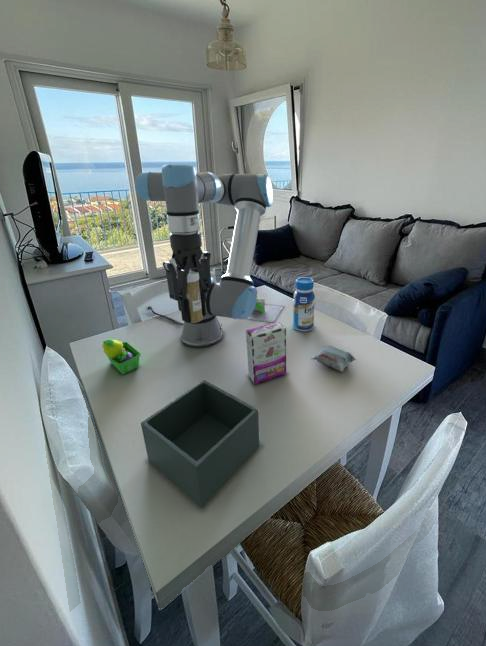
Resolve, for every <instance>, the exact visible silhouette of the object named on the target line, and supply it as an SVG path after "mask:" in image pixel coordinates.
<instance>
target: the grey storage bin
mask: <svg viewBox="0 0 486 646" xmlns="http://www.w3.org/2000/svg"><path fill="white" fill-rule="evenodd" d="M259 423H260V422H259V409H258V408H256V407H255V406H253V405H251V404H249V403H247V402H246V401H243V400H242V399H240V398H238V397H236V396H234V395H233V394H230V393H229V392H227V391H225V390H224V389H221V388H219V387H218V386H216V385H215V384H213V383H211V382H209V381H207V380H206V379H202V380H201V381H200V382H198V383H197V384H195V385H193V386H192V387H191V388H190V389H188V390H187V391H185V392H184V393H182V394H180V395H179V396H178V397H176V398H175V399H173V400H172V401H170V402H169V403H167V404H165V406H163V407H161V408H159V410H157V411H156V412H154V413H153V414H151V415H150V416H148V417H147V418H146V419H144V420H143V421H141V422H140V426H141V432H142V436H143V441H144V445H145V446H144V447H145V450H146V456H147V461H148V462H149V463H150V464H151V465H153V467H155V468H156V469H157V470H158V471H160V472H161V473H162V474H163V475H164V476H165V477H166V478H167V479H168V480H169V481H170V482H172V483H173V484H174V485H175V486H176V487H177V488H178V489H180V490H181V491H182V492H183V493H184V494H185V495H186V496H188V498H190V499H191V500H192V501H193V502H194V503H195V504H196V505H198V507H200V508H201V509H203V508H204V507H205V506H206V505H207V504H208V502H209V501H211V499H212V498H213V497H214V496H215V495H216V494H217V493H218V492H219V490H220V489H221V488H223V487H224V485H225V484H226V483H227V482H228V481H229V480H230V479H231V477H233V476H234V474H235V473H236V472H237V471H238V470H239V469H240V468H241V467H242V466H243V465H244V464H245V463H246V461H247V460H248V459H249V458H250V457H251V456H252V455H253V454H254V453H255V452H256V451H257V450H258V449H259V447H260V429H259V427H260V426H259V425H260V424H259Z"/></svg>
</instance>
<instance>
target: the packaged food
mask: <svg viewBox="0 0 486 646" xmlns="http://www.w3.org/2000/svg"><path fill="white" fill-rule="evenodd" d="M310 359H311V360H314V361H317V363H320V364H322V365H326V366H329V367H330V368H331V369H335V370H337V371H339V372H344V370H345V368H346V367H348V365H349V364H351V363H352V362H355V361H356V360H357V359H356V358H355V357H354V356H353V355H352V354H351V352H349V351H346V350H344V349H340V348H337V347H336V346H334V345H331V344H327V345H326V346H325V347H323V349H322V350H320V351H319V352H318V353H317V354H315V355H313V356H311V357H310Z"/></svg>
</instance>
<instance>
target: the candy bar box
mask: <svg viewBox="0 0 486 646" xmlns="http://www.w3.org/2000/svg"><path fill="white" fill-rule="evenodd" d="M245 339H246V352H247V353H246V355H247V369H248V371H247V372H248V377H249V379H250V380H251V381H252V383H253V384H254V385H258V384H261V383H264V382H267V381H269V380H272V379H275V378H278V377H281V376H284V375H286V374H287V328H286V327H285V326H284V325H283V324H282V323H281V322H280V321H276V322H271V323H269V324H265V325H261V326H257V327H254V328H250V329H247V330H245Z"/></svg>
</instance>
